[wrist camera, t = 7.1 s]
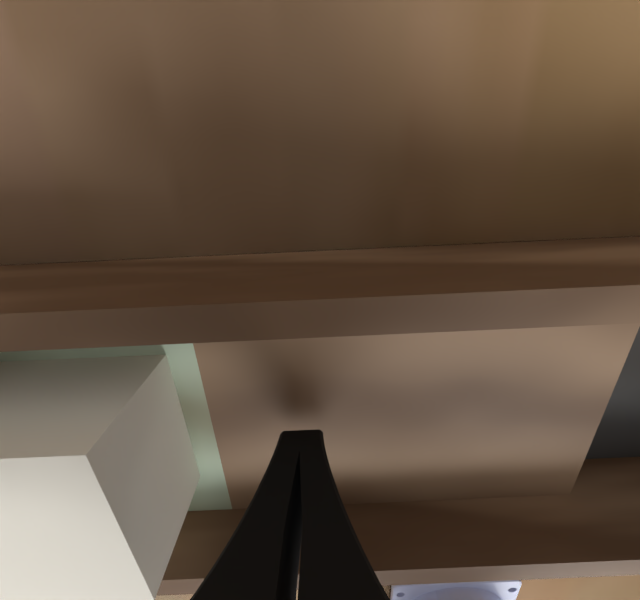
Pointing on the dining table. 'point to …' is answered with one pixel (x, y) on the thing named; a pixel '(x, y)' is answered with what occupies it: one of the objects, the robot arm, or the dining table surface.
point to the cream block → (91, 477)
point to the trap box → (387, 392)
